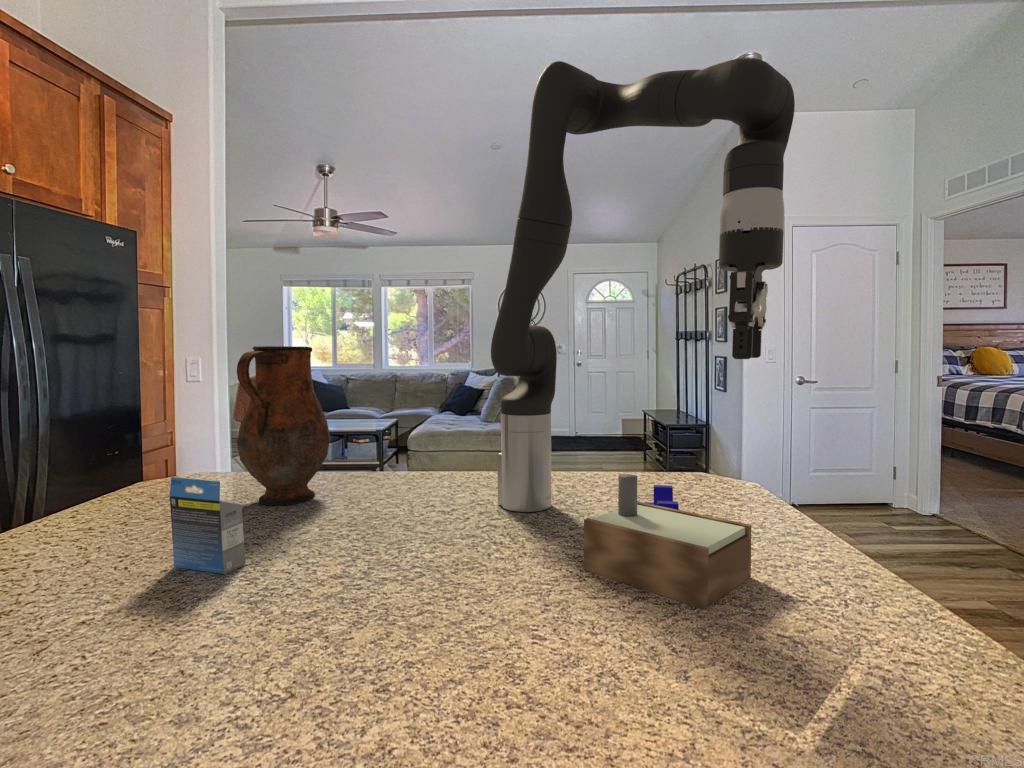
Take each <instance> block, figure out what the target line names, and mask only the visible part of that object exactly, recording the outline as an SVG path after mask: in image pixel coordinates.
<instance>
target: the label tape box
mask: <svg viewBox="0 0 1024 768" xmlns="http://www.w3.org/2000/svg"><path fill="white" fill-rule="evenodd" d="M169 487H170V488H169V504H170V505H169V506H170V518H171V519H170V520H171V536H172V540H171V541H172V555H173V567H174V568H176V569H182V568H185V569H184V570H189V569H191V571H199V572H207V573H213V574H219V573H221V574H220V575H227V574H228V572H229V573H231V572H233V571H232V570H234V569H236V568H238V567H239V568H241V567H243V566H245V565H246V553H245V537H244V525H243V523H244V522H243V510H242V509H243V506H242V504H241V503H235V502H231V501H225V500H222V499H221V481H219V480H208V479H196V478H188V477H177V476H171V477H170V485H169ZM193 487H195V488H196V489H200V490H202V491H201V493H200V492H191V491H187V490H186V489H187V488H189V489H190V488H191V489H192V488H193ZM239 568H238V569H239ZM236 570H237V569H236ZM234 571H235V570H234ZM226 573H227V574H226Z"/></svg>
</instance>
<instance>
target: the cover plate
mask: <svg viewBox="0 0 1024 768" xmlns="http://www.w3.org/2000/svg"><path fill="white" fill-rule="evenodd" d="M617 477H618V478H617V479H618V486H617V487H618V499H617V500H618V501H617V503H618V505H617V506H618V508H617V509H616V510H612V511H610V512H607V513H603V514H601V515H597V516H596V517H595V516H594V517H592V518H591V519H594V520H598V521H602V522H606V523H610V524H614V525H618V526H622V527H626V528H630V529H634V530H638V531H642V532H647V533H651V534H655V535H659V536H663V537H667V538H671V539H675V540H679V541H683V542H687V543H691V544H695V545H699V546H704V547H708V548H709V554H711V553H713V552H715V551H716V550H718V549H720V548H722V547H724V546H725V545H727V544H729V543H731V542H733V541H734V540H736V539H738V538H740V537H742V536H743V535H745V527H742V526H737V525H733V524H728V523H723V522H718V521H713V520H709V519H704V518H699V517H694V516H689V515H685V514H680V513H675V512H670V511H665V510H661V509H656V508H651V507H646V506H641V505H637V502H638V475H636V474H631V473H630V474H629V473H622V474H618V476H617Z"/></svg>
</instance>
